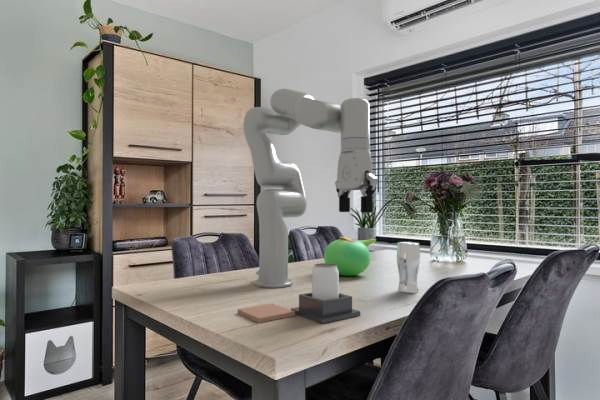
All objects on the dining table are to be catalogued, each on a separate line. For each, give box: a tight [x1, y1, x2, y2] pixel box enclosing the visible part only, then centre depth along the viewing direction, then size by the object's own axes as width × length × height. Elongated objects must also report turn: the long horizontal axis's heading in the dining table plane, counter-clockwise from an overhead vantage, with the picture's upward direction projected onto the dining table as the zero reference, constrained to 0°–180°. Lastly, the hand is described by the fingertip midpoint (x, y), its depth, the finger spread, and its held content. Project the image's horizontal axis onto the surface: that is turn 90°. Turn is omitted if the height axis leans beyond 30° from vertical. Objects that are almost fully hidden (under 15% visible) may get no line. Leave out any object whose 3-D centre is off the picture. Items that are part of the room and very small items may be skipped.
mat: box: [237, 302, 296, 324], centre depth 100 cm, size 10×10×1 cm
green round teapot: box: [323, 236, 377, 277], centre depth 156 cm, size 18×17×15 cm
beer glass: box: [396, 241, 421, 294], centre depth 128 cm, size 7×7×15 cm
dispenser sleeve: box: [290, 292, 361, 324], centre depth 101 cm, size 12×12×4 cm
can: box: [311, 262, 340, 301], centre depth 101 cm, size 6×6×12 cm
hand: (355, 212), depth 108 cm, fingers open, 9 cm apart
